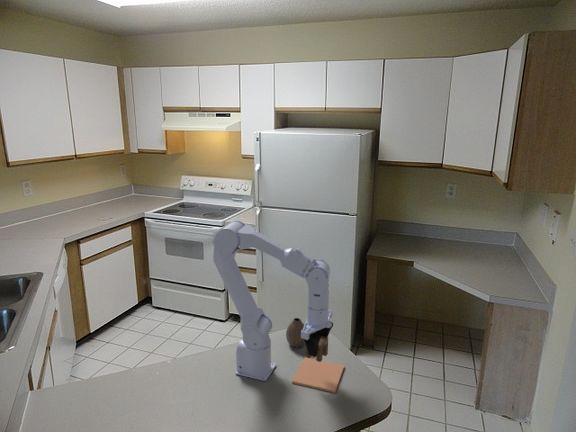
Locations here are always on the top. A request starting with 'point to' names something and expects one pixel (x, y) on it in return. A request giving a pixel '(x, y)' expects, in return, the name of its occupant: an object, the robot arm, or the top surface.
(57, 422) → the top surface
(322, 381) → the mat
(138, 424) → the top surface
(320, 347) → the notched brown block
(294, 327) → the vase
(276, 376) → the top surface
